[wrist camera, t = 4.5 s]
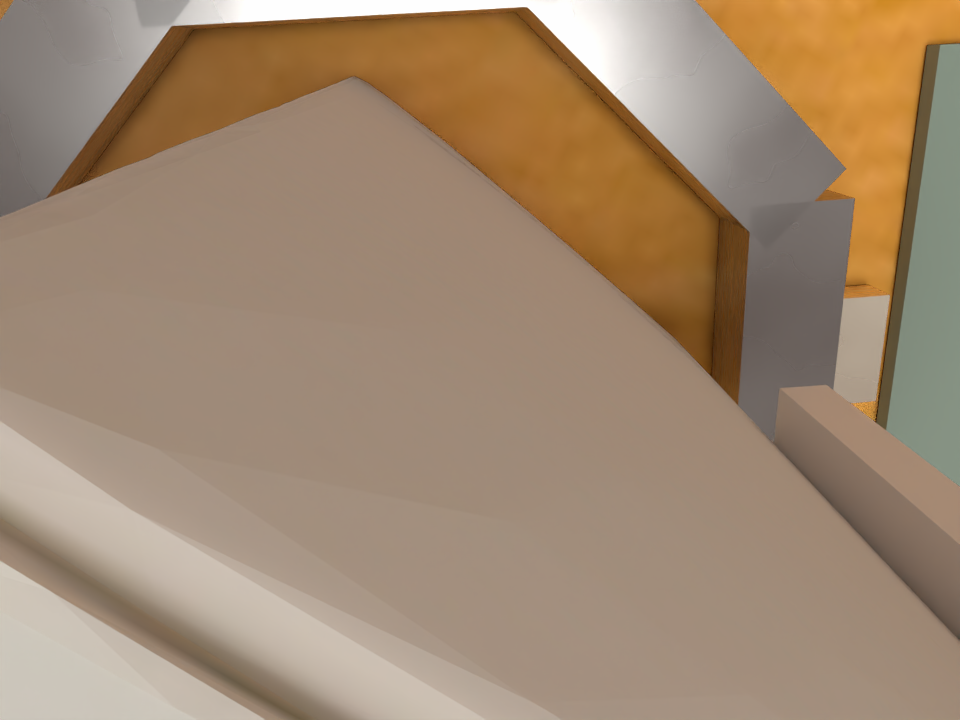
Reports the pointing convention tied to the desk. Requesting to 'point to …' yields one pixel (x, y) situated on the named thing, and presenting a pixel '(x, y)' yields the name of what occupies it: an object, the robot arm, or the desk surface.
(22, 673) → the supplement box
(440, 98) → the desk surface
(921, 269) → the felt pad
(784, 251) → the socket collar
